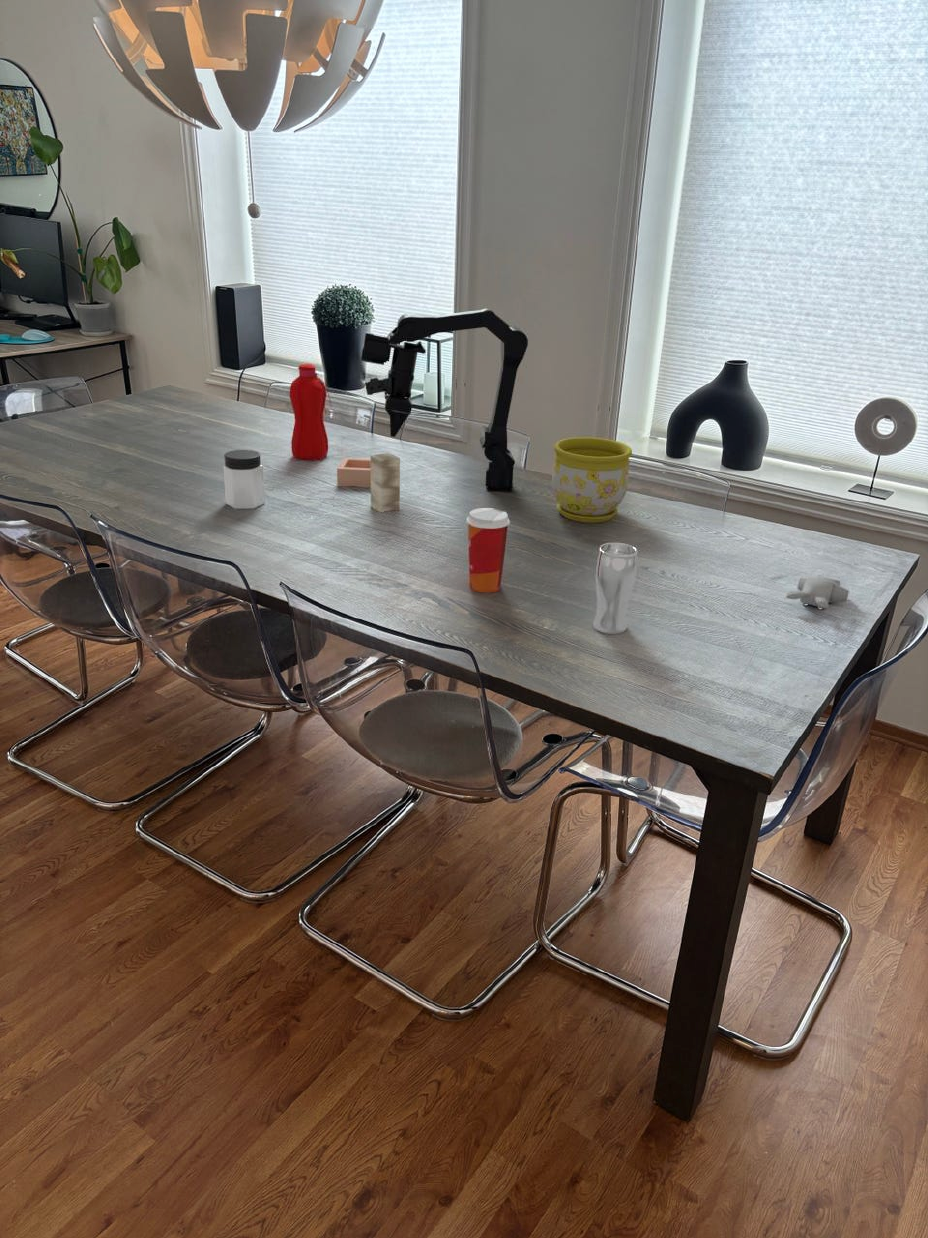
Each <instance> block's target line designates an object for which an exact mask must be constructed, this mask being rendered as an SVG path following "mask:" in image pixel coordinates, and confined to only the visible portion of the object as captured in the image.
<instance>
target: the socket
mask: <svg viewBox="0 0 928 1238" xmlns="http://www.w3.org/2000/svg"><path fill="white" fill-rule="evenodd" d="M336 479H337V480H336V482H337V487H348V486H357V487H356V488H368V487H371V458H359V457H358V458H357V457H356V458H355V457H343V458H342V459H341V461H340V463H339V465H338V466H337V468H336Z"/></svg>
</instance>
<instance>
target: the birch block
mask: <svg viewBox="0 0 928 1238" xmlns="http://www.w3.org/2000/svg"><path fill="white" fill-rule="evenodd" d="M370 459H371V488H370V507H371V506H372V507H374V508H376V509H377V510H379V511H380V513H381V512H382V513H385V512H384V511H388V512H391V511H390V510H394V511H396V510H395V509H399V510H400V507H401V506H400V505H401V503H400V502H401V499H400V498H401V496H400V495H401V487H400V486H401V458H400V457H399V456H396V455H395V454H394V453H393V454H392V453H391V452H385V453H379V454H378V453H377V454H371V455H370ZM372 507H371V508H372ZM374 508H373V509H374ZM376 509H375V510H376ZM377 510H376V511H377ZM379 511H378V512H379Z"/></svg>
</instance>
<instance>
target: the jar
mask: <svg viewBox="0 0 928 1238" xmlns="http://www.w3.org/2000/svg"><path fill="white" fill-rule="evenodd" d="M261 461H262V460H261V453H259V452H258V451H257V450H253V449H235V450H230V451H229V450H228V451H227V452H225V453H224V465H223V466H222V467H223V480H224V491H225V492H224V495H225V504H226V505H228V506H230V507H231V508H233V509H234V510H239V509H240V510H243V509H245V510H246V509H247V510H249V509H250V510H251V509H252V510H254V509H256V508H258V507H259V506H262V505H264V504H265V502H266V501H265V486H264V485H265V484H264V466H263V464H261Z"/></svg>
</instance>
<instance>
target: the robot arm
mask: <svg viewBox="0 0 928 1238" xmlns="http://www.w3.org/2000/svg"><path fill="white" fill-rule="evenodd" d="M396 325H397V326H396V327H394V329H392V330H391V332H389V333H388V334H387V336H386V335H382V334H381V335H380V334H376V333H373V332H370V331H369V332H368V331H366V332H365V334H364V340H363V341H364V342H363V344H362V349H361V350H362V351H361V356H360V362H365V363H370V364H375V365H381V366H384V365H385V363H387V362H390V358H391V353H392V352H391V351H392V349H393V353H392V358H391V365H390V369H389V370H388V372H387V374H384V375H378V376H372V377H371V376H370V377H368V378H365V379H364V386H365V391H366V394H367V395H368V396H372V395H374V394H379V393H384V399H385V403H384V410H385V412H387V414H388V416H389V428H390V429H389V431H390V437H393V438H395V437H396V436H397V434H398V432H399V431H400V429H402V427H403V425H404V423H405V422H406V420H407V419H408V417H409V416H410V414H411V413H412V410H413V409H412V408H413V404H412V403H413V402H412V401H411V400H410V398H411V397H412V396H411V395H412V387H413V382H414V379H415V369H416V364H417V360H418V359H417V358H418V354H423V355H424V354H426V353H427V351H426V348H425V347H424V346H423V344H422V341H421V340H422V339H426V338H428V337H430V336H433V335H436V334H440V333H447V332H448V333H450V332H457V331H465V330H472V329H473V330H474V329H480V328H486V329H487V330H488V331H490V333H491V334H493V335H494V336H495V337H496V338H498V340H500V361H501V364H500V370H499V376H498V383H497V386H496V387H497V388H496V393H495V397H494V403H493V408H492V415H491V419H490V422H489V424H488V425H487V426H485V425H484V426H482V429H481V431H482V433H481V438H480V439H479V444H480V446H481V448H482V450H483V451H482V452H483V454H484V456H485V458H486V460H488V461H489V462H488V467H487V468H486V470H485V487H487V488H486V491H488V492H489V491H490V492H508V493H510V492H511V493H512V492H514V491H513V490H514V487H513V486H514V483H513V482H514V481H513V480H514V466H515V464H516V461H515V458H514V456H513V454H512V452H511V451H510V450H509V449H508V429H507V427H508V420H509V414H510V411H511V406H512V405H511V404H512V400H513V395H514V388H515V385H516V379H517V375H518V374H517V372H518V369H519V367H520V365H521V363H522V361H523V359H524V358H525V357H524V356H525V354H526V351H527V348H528V346H529V339H528V337H527V336H526V334H525V333H524V331H523V330H522V329H520V327H517V326H510V325H509V324H508V323H506V322H505V321H504V320H503V319H502V318H500V317H499V316H498V315H497V314H496V313H495V312H494V310H492V308H488V307H487V308H486V307H485V308H482V309H478V310H470V311H461V312H453V313H445V314H437V315H436V314H435V315H434V314H424V313H409V312H408V313H405V314H402V315H401V316H400V317H399V318H398V320H397V323H396ZM416 341H418V342H416ZM414 342H416V343H414ZM402 343H403V344H402Z"/></svg>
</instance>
